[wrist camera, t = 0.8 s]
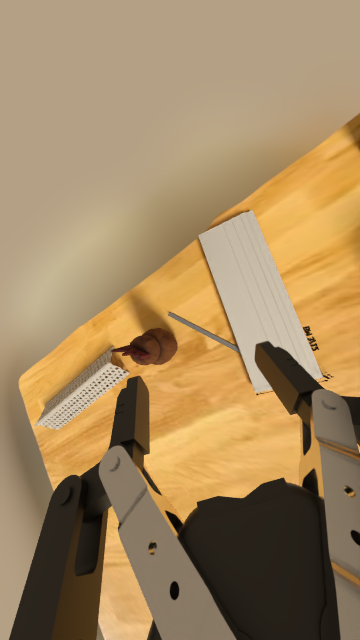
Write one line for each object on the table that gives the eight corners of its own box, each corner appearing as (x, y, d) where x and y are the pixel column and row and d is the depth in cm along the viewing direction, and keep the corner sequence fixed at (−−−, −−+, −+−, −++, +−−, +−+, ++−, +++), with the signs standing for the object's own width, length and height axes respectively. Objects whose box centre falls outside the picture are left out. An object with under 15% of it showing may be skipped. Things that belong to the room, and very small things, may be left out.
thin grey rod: (169, 312, 36) (169, 312, 35) (255, 356, 30) (256, 356, 30) (168, 315, 36) (167, 315, 36) (253, 360, 30) (253, 360, 30)
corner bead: (114, 343, 41) (98, 345, 36) (133, 374, 39) (119, 381, 34) (48, 401, 48) (27, 409, 43) (61, 430, 46) (41, 442, 41)
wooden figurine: (148, 342, 37) (95, 354, 23) (164, 323, 36) (118, 323, 22) (170, 364, 35) (126, 391, 21) (186, 344, 34) (152, 358, 20)
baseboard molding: (259, 209, 30) (199, 239, 34) (262, 197, 28) (196, 231, 31) (330, 374, 27) (254, 389, 30) (342, 379, 24) (256, 396, 27)
